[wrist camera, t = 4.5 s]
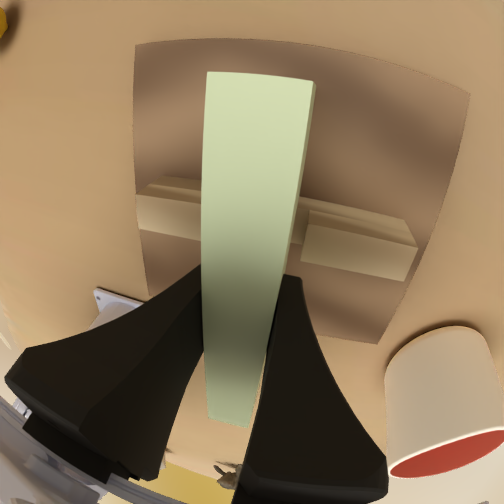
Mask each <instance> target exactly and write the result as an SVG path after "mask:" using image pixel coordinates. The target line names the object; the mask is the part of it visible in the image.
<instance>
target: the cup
mask: <svg viewBox="0 0 504 504" xmlns="http://www.w3.org/2000/svg"><path fill="white" fill-rule="evenodd" d="M384 384H385V399H386V424H387V467H388V475H390V476H392V477H396V478H420V477H426V476H432V475H437V474H441V473H445V472H448V471H452V470H455V469H458V468H460V467H463V466H465V465H468V464H470V463H472V462H475V461H477V460H478V459H481V458H482V457H484V456H486V455H488V454H489V453H491V452H492V451H494V450H496V449H497V448H498V447H499V446H501V445H502V444H503V443H504V394H503V390H502V387H501V383H500V380H499V377H498V374H497V371H496V368H495V365H494V362H493V359H492V356H491V353H490V351H489V348H488V345H487V343H486V340H485V339H484V337H483V336H482V335H481V334H480V333H479V332H477V331H476V330H474V329H471V328H468V327H464V326H448V327H443V328H439V329H435V330H433V331H430V332H427V333H425V334H423V335H421V336H419V337H417V338H415V339H413V340H412V341H410V342H409V343H408V344H406V345H405V346H404V347H403V348H401V349H400V350H399V351H398V352H397V353H396V355H395V356H394V357H393V358H392V360H391V361H390V363H389V365H388V367H387V369H386V372H385V378H384Z"/></svg>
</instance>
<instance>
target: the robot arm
mask: <svg viewBox="0 0 504 504" xmlns="http://www.w3.org/2000/svg"><path fill="white" fill-rule="evenodd" d="M93 292H94V296H95V299H96V302H97V305H98V308H99V311H100V314H99V315H98V316H97V317H96V319H95V320H94V321H93V323H92V324H91V325H90V326H89V328H88V329H87V330H86V332H83V333H80V334H77V335H75V336H71V337H68V338H65V339H62V340H58V341H55V342H51V343H46V344H42V345H38V346H33V347H28V348H26V349H25V350H24V352H23V353H22V354H21V355H20V357H19V358H18V359H17V361H16V362H15V364H14V365H13V366H12V367H11V369H10V370H9V371H8V373H7V374H6V376H5V377H4V378H5V383H6V384H7V385H8V387H9V388H10V389H11V390H12V391H13V393H14V394H15V395H16V396H17V399H16V400H15V402H14V404H13V406H11V405H10V404H9V403H8V402H6V401H5V400H4V399H3V398H2V397H1V396H0V504H99V503H97V502H98V500H101V499H102V497H103V496H105V495H106V494H107V492H110V493H112V494H114V495H116V496H118V497H120V498H122V499H124V500H127V501H129V502H131V503H133V504H187V503H184V502H181V501H178V500H175V499H172V498H169V497H166V496H164V495H161V494H158V493H156V492H153V491H151V490H148V489H146V488H144V487H141V486H139V485H136V484H134V483H132V482H130V481H128V479H129V477H131V478H133V479H135V480H138V481H139V480H140V478H141V479H143V480H146V481H151V480H154V479H156V478H158V474H159V470H160V466H161V463H162V459H163V455H164V452H165V449H166V445H167V442H168V439H169V436H170V432H171V429H172V426H173V423H174V420H175V417H176V414H177V412H178V409H179V406H180V403H181V400H182V398H183V395H184V392H185V389H186V387H187V384H188V382H189V380H190V378H191V375H192V373H193V371H194V369H195V367H196V365H197V363H198V361H199V359H200V357H201V355H202V353H203V351H204V343H203V319H202V284H201V263H200V264H199V265H198V266H197V267H195V268H194V269H193V270H191V271H190V272H189V273H187V274H186V275H185V276H183V277H182V278H181V279H179V280H178V281H176V282H175V283H174V284H172V285H171V286H169V287H168V288H167V289H165V290H164V291H162V292H161V293H159V294H158V295H156V296H155V297H153V298H152V299H150V300H148V301H147V302H145V303H142V302H139V301H136V300H132V299H129V298H126V297H123V296H120V295H117V294H114V293H111V292H108V291H105V290H102V289H99V288H96V289H95V290H94V291H93ZM388 483H389V477H388V467H387V460H386V456H385V455H384V454H383V452H382V451H381V450H380V449H379V447H378V446H377V445H376V444H375V442H374V441H373V440H372V438H371V437H370V436H369V434H368V433H367V432H366V430H365V429H364V427H363V426H362V424H361V423H360V421H359V420H358V419H357V417H356V416H355V414H354V412H353V411H352V409H351V407H350V406H349V404H348V402H347V401H346V399H345V397H344V396H343V394H342V392H341V391H340V389H339V387H338V385H337V383H336V381H335V379H334V377H333V375H332V373H331V371H330V369H329V367H328V365H327V363H326V360H325V358H324V356H323V353H322V351H321V348H320V346H319V343H318V340H317V338H316V335H315V332H314V329H313V326H312V323H311V319H310V316H309V313H308V309H307V305H306V300H305V296H304V290H303V280H302V279H301V278H300V277H297V276H292V275H287V274H283V277H282V281H281V285H280V289H279V294H278V298H277V303H276V308H275V313H274V318H273V323H272V327H271V332H270V337H269V341H268V346H267V352H266V359H265V366H264V373H263V380H262V387H261V394H260V399H259V405H258V409H257V413H256V417H255V420H254V424H253V428H252V432H251V436H250V439H249V443H248V447H247V450H246V454H245V458H244V461H243V465H242V468H241V472H240V475H239V479H238V482H237V485H236V489H235V492H234V496H233V499H232V502H231V504H368V503H371V502H374V501H377V500H379V499H381V498H383V497H384V496H385V495H386V494H387V493H388ZM479 504H489V502H488V501H485V502H482V503H479Z"/></svg>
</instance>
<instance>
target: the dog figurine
mask: <svg viewBox="0 0 504 504" xmlns="http://www.w3.org/2000/svg"><path fill="white" fill-rule="evenodd" d="M214 468H215V470H216V471H217V472H218V473H220V474H221V475H223V476H222V477H221V478H220V479H218V480H217V482H218V483H219V484H220V485H221V486H222V487H223V488H226V489H234V490H235V489H236V485H237V482H238V479H239V475H240V472H241V468H242V465H241V464H238V467H237V468H236V469H235V471H236V473H235V472H234V473H231V472H227V473H225V472H223V471H222V470H221V469H220V468H219V467H218V466H216V465H214Z"/></svg>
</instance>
